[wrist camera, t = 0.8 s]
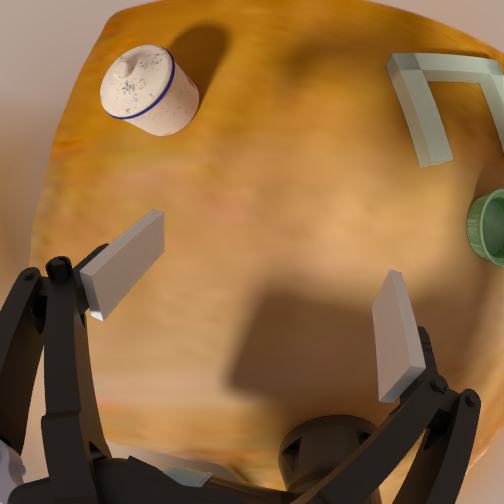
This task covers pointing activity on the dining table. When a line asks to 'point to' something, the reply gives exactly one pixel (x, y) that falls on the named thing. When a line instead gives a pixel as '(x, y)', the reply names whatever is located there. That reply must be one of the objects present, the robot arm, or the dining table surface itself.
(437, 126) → the holder
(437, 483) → the robot arm
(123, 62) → the teacup with lid
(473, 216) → the ramekin
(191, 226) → the dining table surface
